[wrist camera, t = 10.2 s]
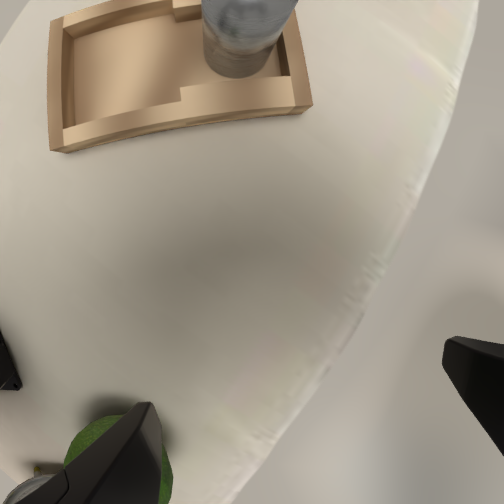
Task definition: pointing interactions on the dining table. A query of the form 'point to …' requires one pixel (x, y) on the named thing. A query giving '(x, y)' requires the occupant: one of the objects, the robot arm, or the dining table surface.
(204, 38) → the grey metal peg
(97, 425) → the avocado
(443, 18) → the dining table surface
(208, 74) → the light brown wooden tray
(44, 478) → the alarm clock
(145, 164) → the dining table surface
